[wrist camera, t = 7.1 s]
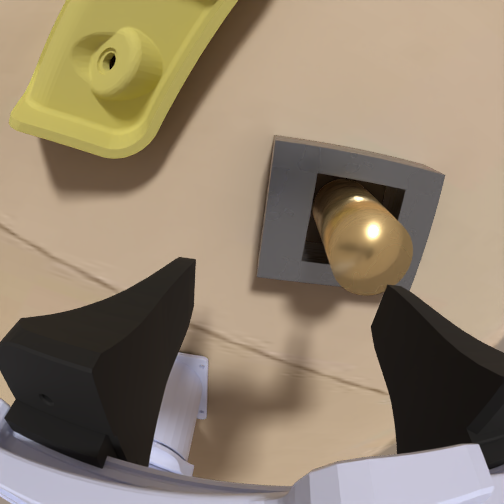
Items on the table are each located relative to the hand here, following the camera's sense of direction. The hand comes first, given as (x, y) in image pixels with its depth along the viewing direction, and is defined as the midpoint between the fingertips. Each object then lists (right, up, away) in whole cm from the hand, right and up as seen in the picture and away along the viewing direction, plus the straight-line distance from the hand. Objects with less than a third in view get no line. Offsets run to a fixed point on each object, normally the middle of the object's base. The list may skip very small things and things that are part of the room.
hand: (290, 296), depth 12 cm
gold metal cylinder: (+4, +4, +9) cm, 11 cm away
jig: (+4, +4, +9) cm, 11 cm away
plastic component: (-7, +18, +3) cm, 19 cm away
